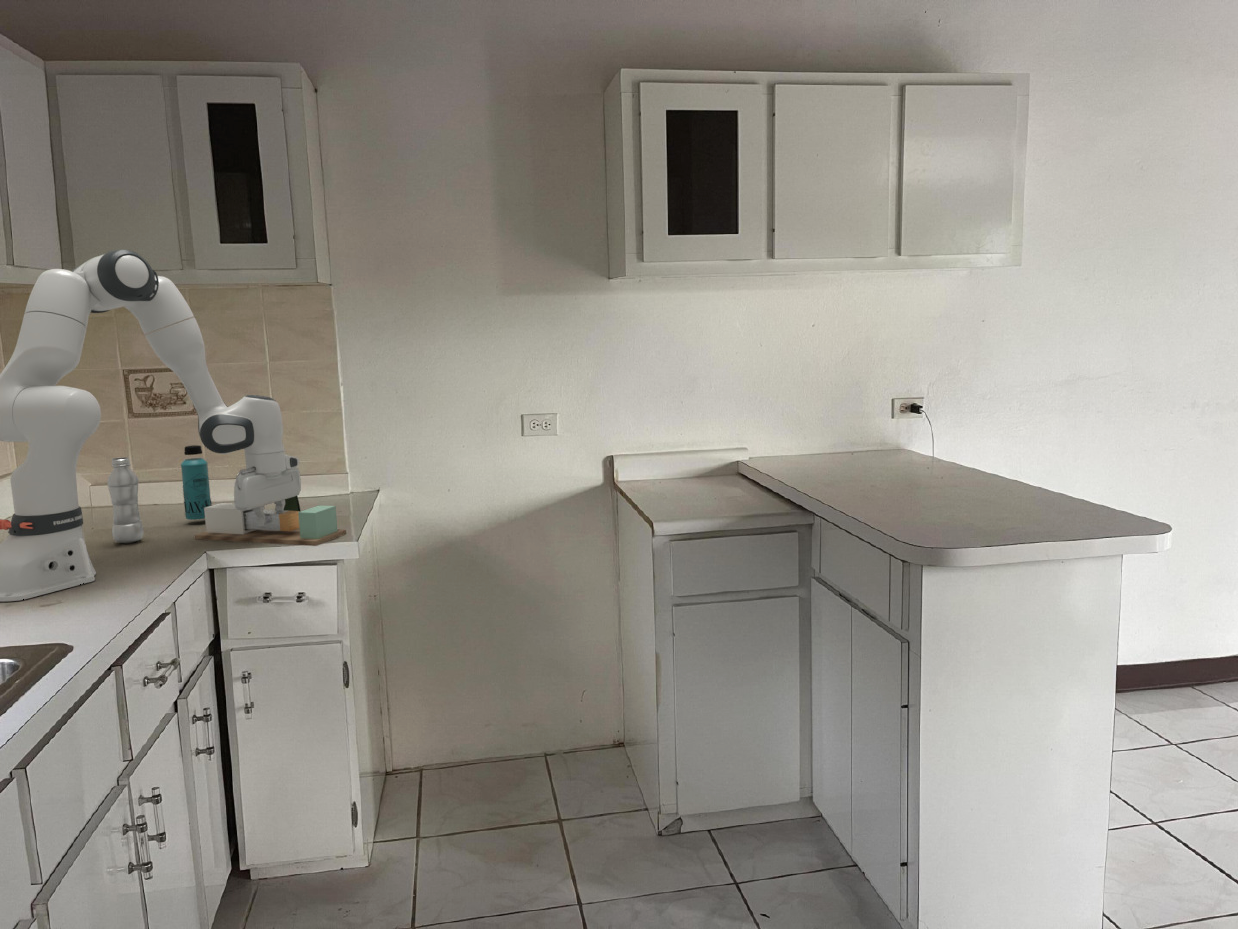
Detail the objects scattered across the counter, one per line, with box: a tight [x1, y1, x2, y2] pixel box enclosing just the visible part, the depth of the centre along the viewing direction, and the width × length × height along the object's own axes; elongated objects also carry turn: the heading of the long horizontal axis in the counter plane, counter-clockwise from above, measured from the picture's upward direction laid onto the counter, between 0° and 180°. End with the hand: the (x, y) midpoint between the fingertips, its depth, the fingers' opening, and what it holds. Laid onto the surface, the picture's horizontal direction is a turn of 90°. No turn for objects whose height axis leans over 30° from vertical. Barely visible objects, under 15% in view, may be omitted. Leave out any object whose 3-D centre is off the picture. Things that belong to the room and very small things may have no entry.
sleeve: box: [204, 502, 255, 534], centre depth 227 cm, size 11×6×6 cm, turn 73°
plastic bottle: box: [106, 456, 145, 544], centre depth 221 cm, size 6×7×20 cm
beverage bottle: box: [180, 444, 212, 521], centre depth 241 cm, size 6×7×20 cm
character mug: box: [283, 465, 302, 512], centre depth 248 cm, size 11×7×13 cm, turn 173°
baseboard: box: [193, 528, 347, 547], centre depth 224 cm, size 34×12×1 cm, turn 73°
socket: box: [298, 505, 338, 539], centre depth 220 cm, size 4×8×6 cm, turn 163°
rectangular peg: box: [243, 509, 300, 531], centre depth 225 cm, size 20×4×4 cm, turn 73°
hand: (270, 521), depth 224 cm, fingers closed on rectangular peg, 4 cm apart
